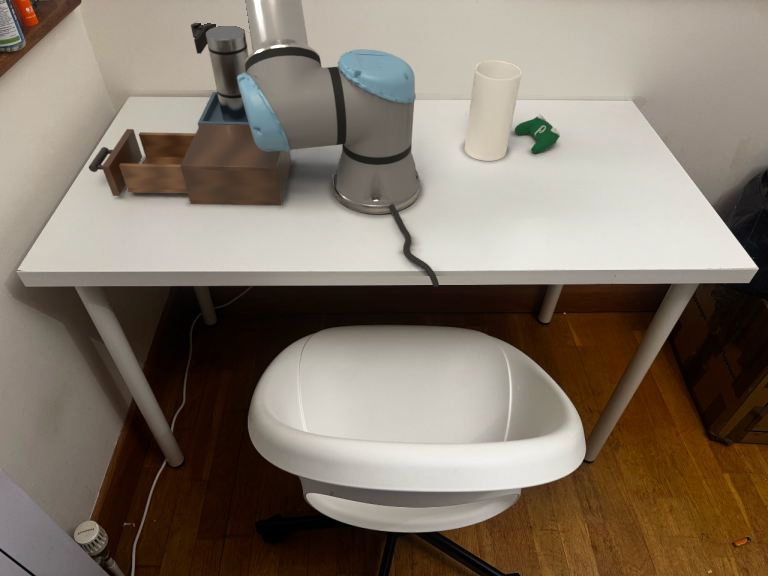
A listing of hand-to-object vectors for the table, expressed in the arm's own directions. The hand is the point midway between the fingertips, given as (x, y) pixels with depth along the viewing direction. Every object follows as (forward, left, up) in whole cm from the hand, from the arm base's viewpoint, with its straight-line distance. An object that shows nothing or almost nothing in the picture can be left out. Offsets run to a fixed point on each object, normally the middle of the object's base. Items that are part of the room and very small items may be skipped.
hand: (231, 48), depth 110 cm
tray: (-2, +2, -14) cm, 14 cm away
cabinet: (-22, +15, -14) cm, 30 cm away
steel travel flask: (-2, +2, -13) cm, 13 cm away
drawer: (-10, +26, -13) cm, 31 cm away
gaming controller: (-50, -36, -14) cm, 63 cm away
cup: (-45, -26, -14) cm, 54 cm away
